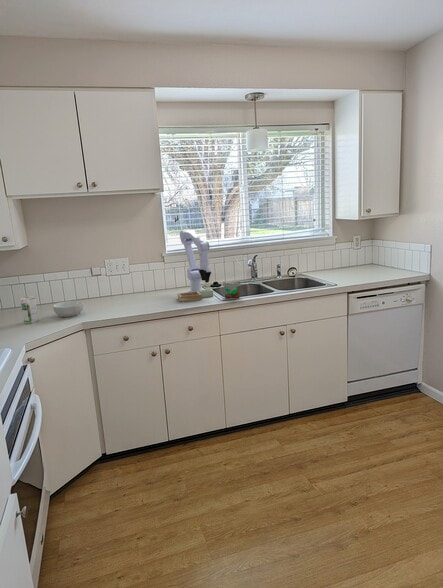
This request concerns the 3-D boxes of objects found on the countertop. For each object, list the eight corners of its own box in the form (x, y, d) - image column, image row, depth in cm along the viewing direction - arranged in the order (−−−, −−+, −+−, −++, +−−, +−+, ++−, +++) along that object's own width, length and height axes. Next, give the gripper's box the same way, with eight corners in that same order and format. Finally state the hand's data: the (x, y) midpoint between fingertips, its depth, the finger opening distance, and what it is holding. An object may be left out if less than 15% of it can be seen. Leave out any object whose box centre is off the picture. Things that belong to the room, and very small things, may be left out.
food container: (220, 298, 258) (219, 283, 256) (224, 296, 263) (223, 281, 261) (237, 299, 252) (236, 284, 250) (241, 297, 257) (240, 282, 255)
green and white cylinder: (23, 323, 224) (19, 298, 221) (32, 320, 229) (28, 295, 226) (30, 324, 222) (26, 298, 219) (39, 321, 227) (35, 296, 224)
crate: (178, 298, 263) (177, 293, 263) (198, 296, 267) (198, 291, 266) (180, 302, 254) (180, 296, 253) (201, 299, 257) (201, 294, 256)
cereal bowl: (84, 317, 230) (82, 305, 229) (53, 320, 226) (51, 308, 224) (85, 310, 246) (83, 299, 245) (56, 313, 242) (54, 302, 240)
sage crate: (199, 295, 268) (199, 290, 267) (211, 294, 270) (211, 288, 269) (201, 297, 263) (201, 291, 263) (213, 296, 265) (212, 290, 264)
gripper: (195, 260, 266) (196, 280, 269) (201, 262, 252) (202, 283, 255) (205, 259, 268) (206, 279, 271) (212, 261, 254) (213, 282, 258)
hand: (205, 281), depth 263 cm, fingers open, 7 cm apart
